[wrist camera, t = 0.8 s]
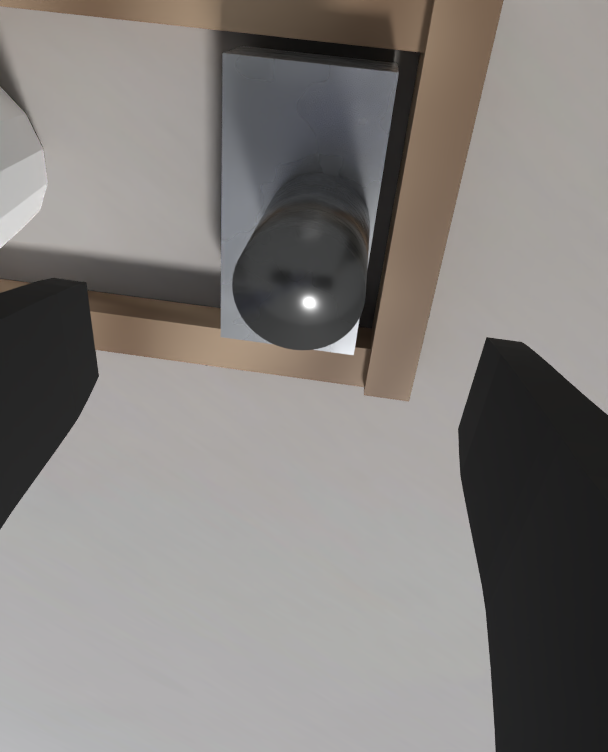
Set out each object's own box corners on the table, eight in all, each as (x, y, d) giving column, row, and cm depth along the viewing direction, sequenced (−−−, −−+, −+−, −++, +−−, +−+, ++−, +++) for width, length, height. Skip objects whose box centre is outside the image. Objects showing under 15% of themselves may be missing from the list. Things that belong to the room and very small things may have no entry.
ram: (236, 304, 21) (181, 418, 15) (242, 45, 16) (166, 72, 11) (356, 320, 21) (346, 442, 15) (397, 63, 16) (403, 100, 10)
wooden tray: (-142, 295, 23) (-258, 361, 19) (-293, -97, 16) (-525, -128, 12) (407, 370, 22) (412, 458, 18) (494, -15, 15) (535, -19, 11)
